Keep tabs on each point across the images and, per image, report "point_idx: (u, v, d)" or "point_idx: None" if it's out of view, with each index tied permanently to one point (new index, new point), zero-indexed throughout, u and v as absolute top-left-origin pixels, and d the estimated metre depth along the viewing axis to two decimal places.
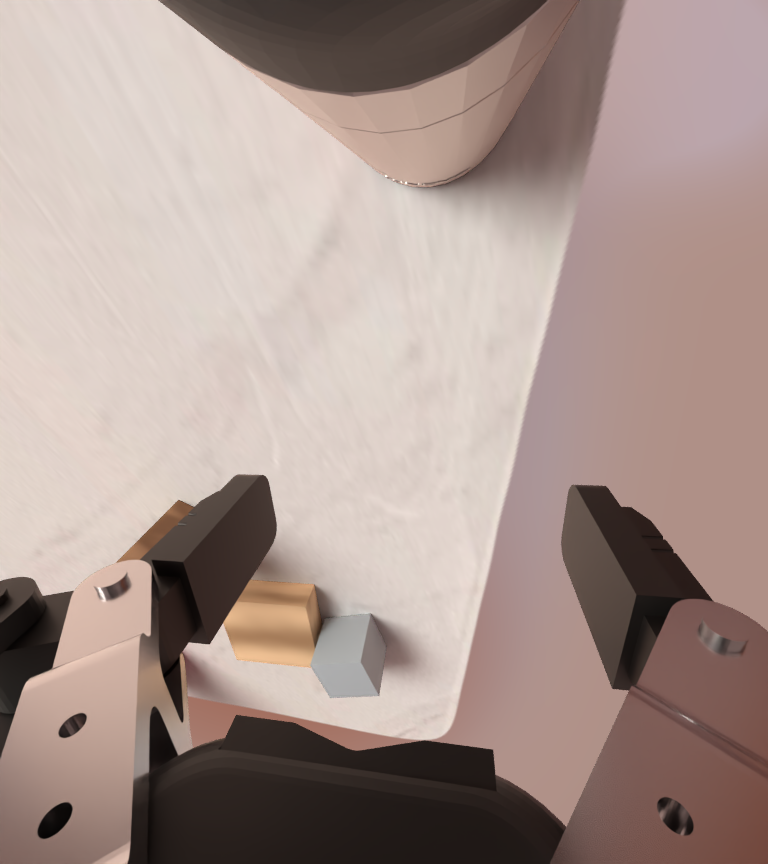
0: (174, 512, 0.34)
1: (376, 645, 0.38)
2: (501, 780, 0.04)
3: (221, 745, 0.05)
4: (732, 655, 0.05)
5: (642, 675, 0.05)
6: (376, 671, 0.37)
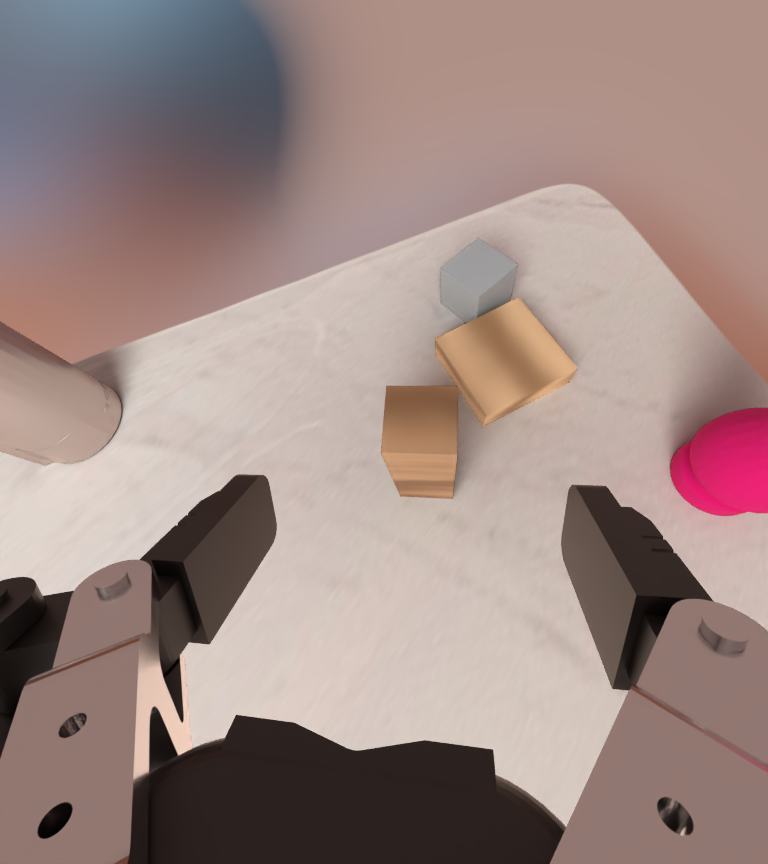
0: None
1: None
2: (501, 780, 0.04)
3: (221, 745, 0.05)
4: (732, 655, 0.05)
5: (642, 675, 0.05)
6: None
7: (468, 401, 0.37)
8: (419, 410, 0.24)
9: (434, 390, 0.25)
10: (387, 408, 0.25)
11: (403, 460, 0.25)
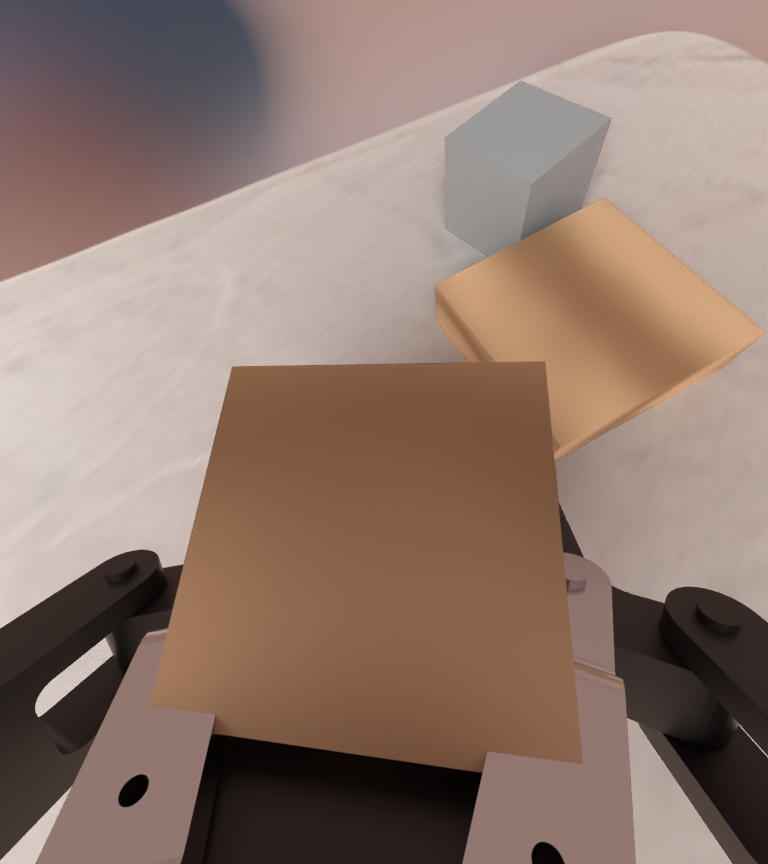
0: None
1: None
2: None
3: None
4: (569, 592, 0.06)
5: None
6: None
7: None
8: (361, 481, 0.05)
9: (435, 383, 0.05)
10: (219, 468, 0.05)
11: None
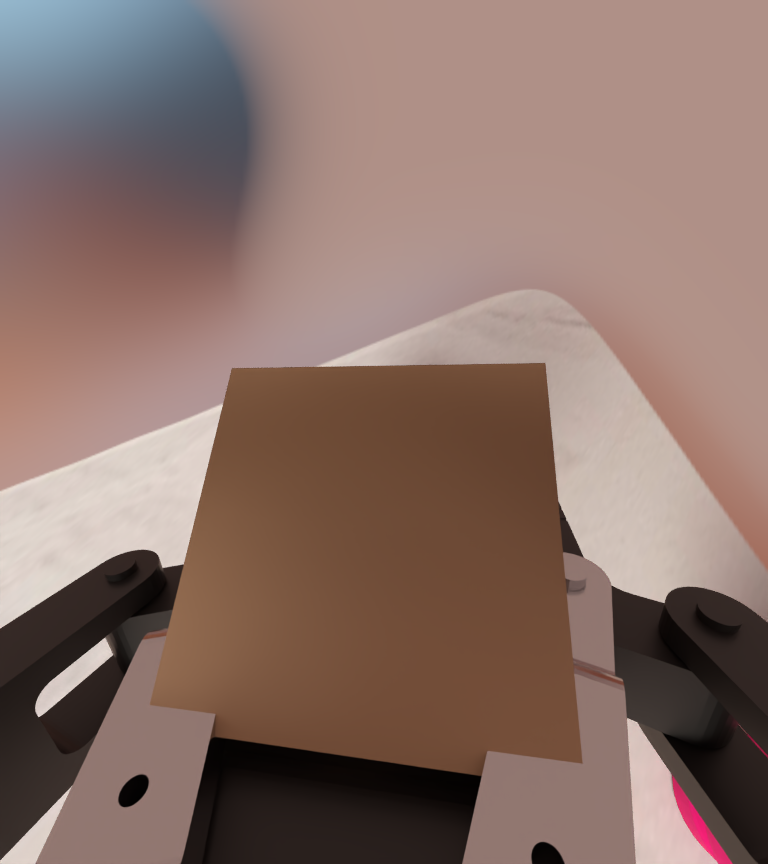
0: None
1: None
2: None
3: None
4: (568, 592, 0.06)
5: None
6: None
7: None
8: (360, 484, 0.05)
9: (435, 385, 0.05)
10: (219, 470, 0.05)
11: None
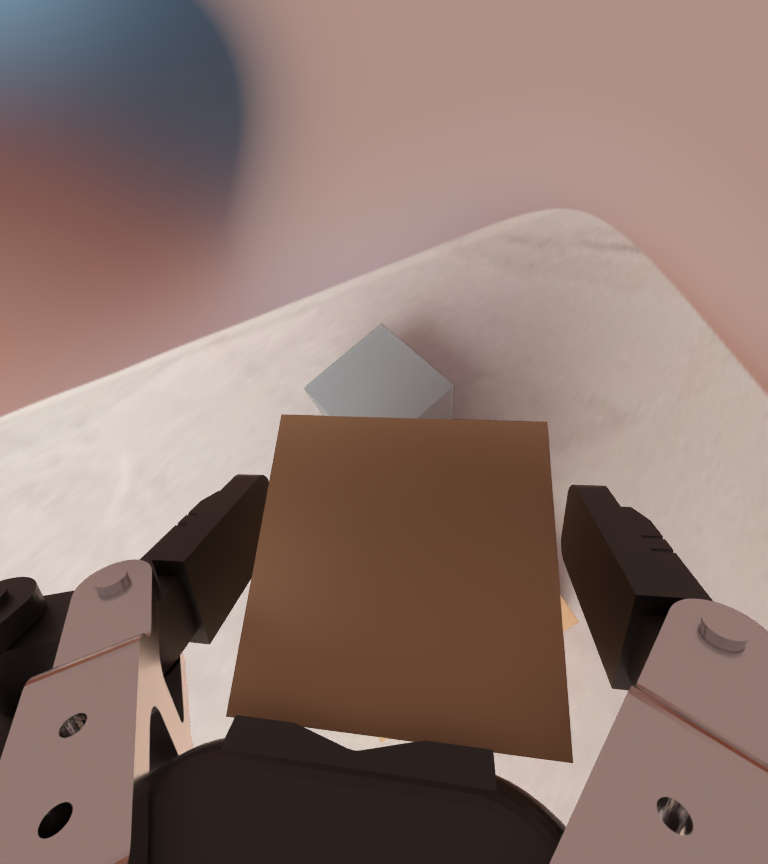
0: None
1: None
2: (501, 780, 0.04)
3: (221, 745, 0.05)
4: (731, 655, 0.05)
5: (642, 675, 0.05)
6: None
7: None
8: (396, 521, 0.06)
9: (457, 437, 0.06)
10: (275, 504, 0.06)
11: None
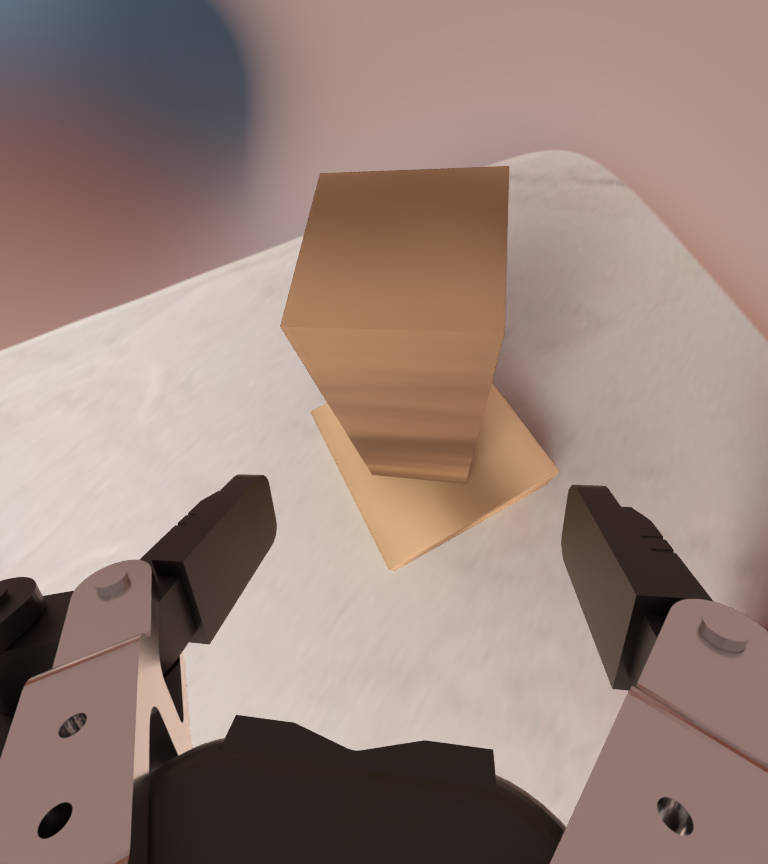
0: None
1: None
2: (501, 780, 0.04)
3: (221, 745, 0.05)
4: (732, 655, 0.05)
5: (642, 675, 0.05)
6: None
7: None
8: (398, 224, 0.09)
9: (444, 178, 0.09)
10: (314, 221, 0.09)
11: (350, 367, 0.09)
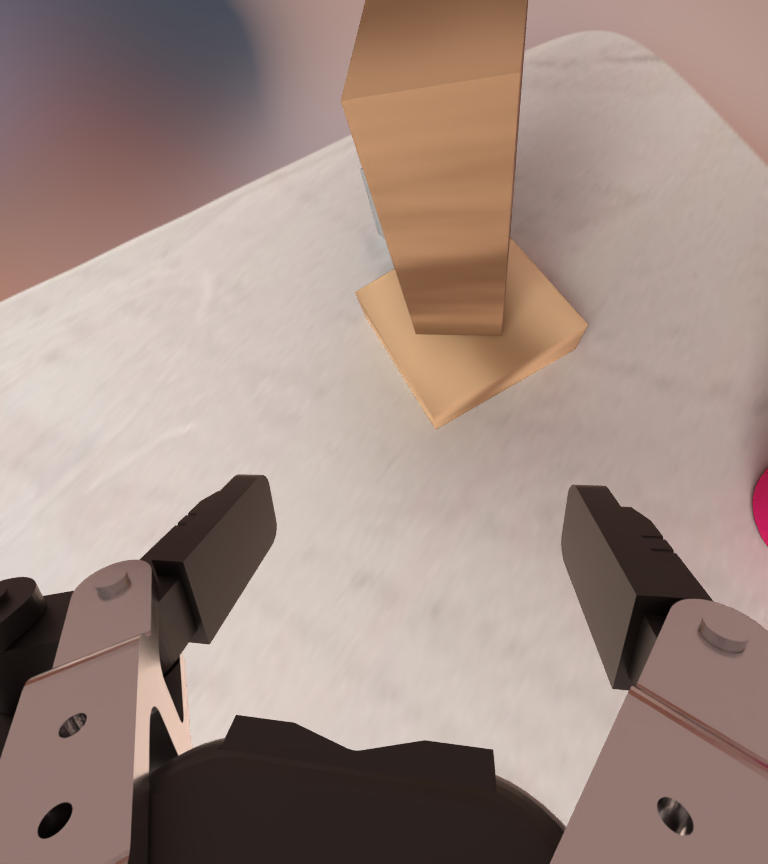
0: None
1: None
2: (501, 780, 0.04)
3: (221, 745, 0.05)
4: (732, 655, 0.05)
5: (642, 675, 0.05)
6: None
7: (412, 390, 0.23)
8: (434, 11, 0.10)
9: None
10: (365, 22, 0.11)
11: (396, 150, 0.11)
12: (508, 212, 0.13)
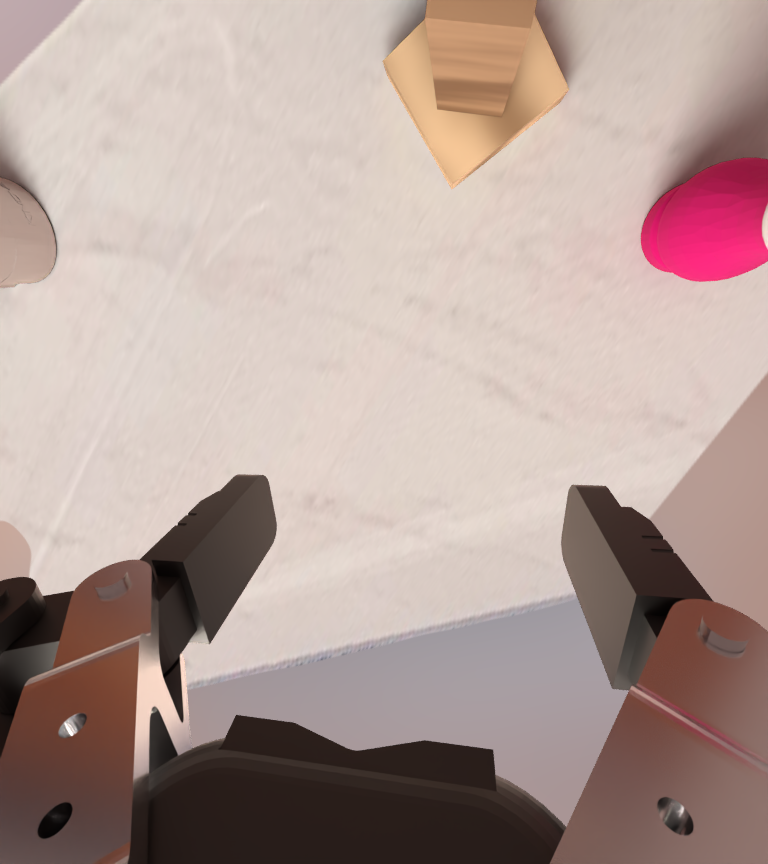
0: None
1: None
2: (501, 780, 0.04)
3: (221, 745, 0.05)
4: (732, 655, 0.05)
5: (642, 675, 0.05)
6: None
7: (433, 156, 0.31)
8: None
9: None
10: None
11: (452, 38, 0.18)
12: (516, 69, 0.20)
